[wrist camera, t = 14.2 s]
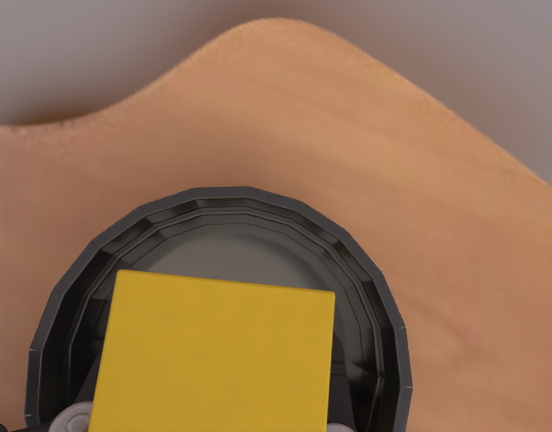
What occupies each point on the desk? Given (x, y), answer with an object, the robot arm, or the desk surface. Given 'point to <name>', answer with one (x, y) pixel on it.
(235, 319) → the sponge
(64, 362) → the bowl
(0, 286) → the desk surface
